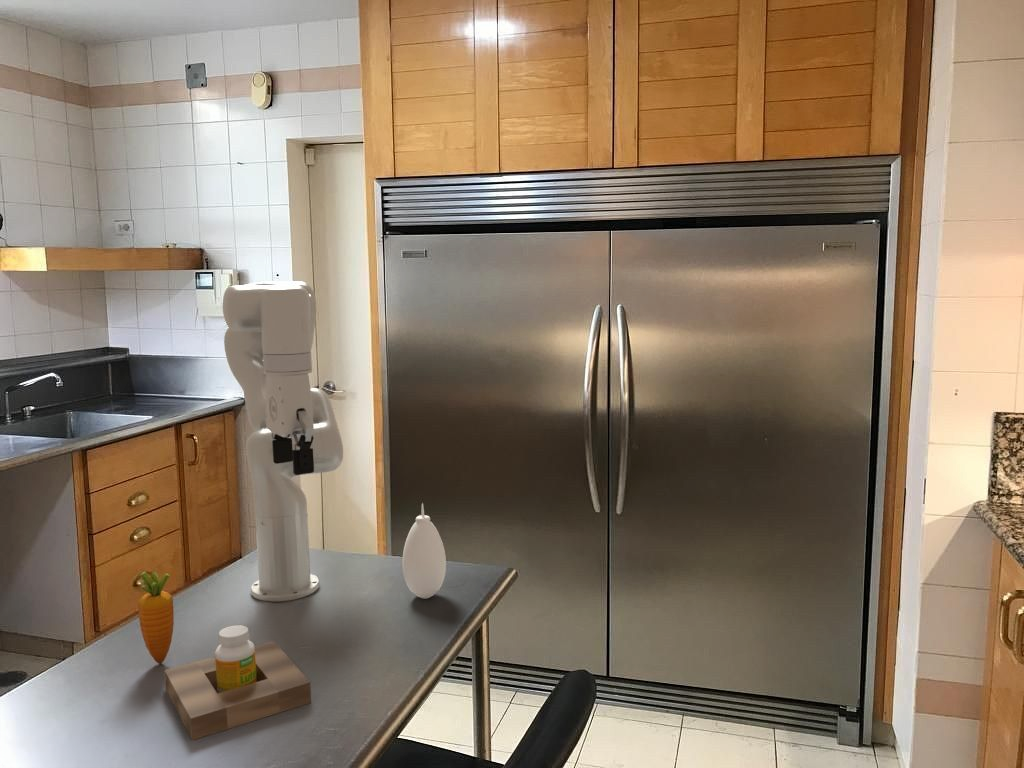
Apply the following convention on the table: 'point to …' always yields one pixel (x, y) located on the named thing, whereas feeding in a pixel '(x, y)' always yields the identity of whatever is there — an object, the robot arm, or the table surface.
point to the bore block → (235, 692)
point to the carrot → (156, 616)
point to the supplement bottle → (235, 659)
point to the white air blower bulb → (424, 558)
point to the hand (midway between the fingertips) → (293, 467)
